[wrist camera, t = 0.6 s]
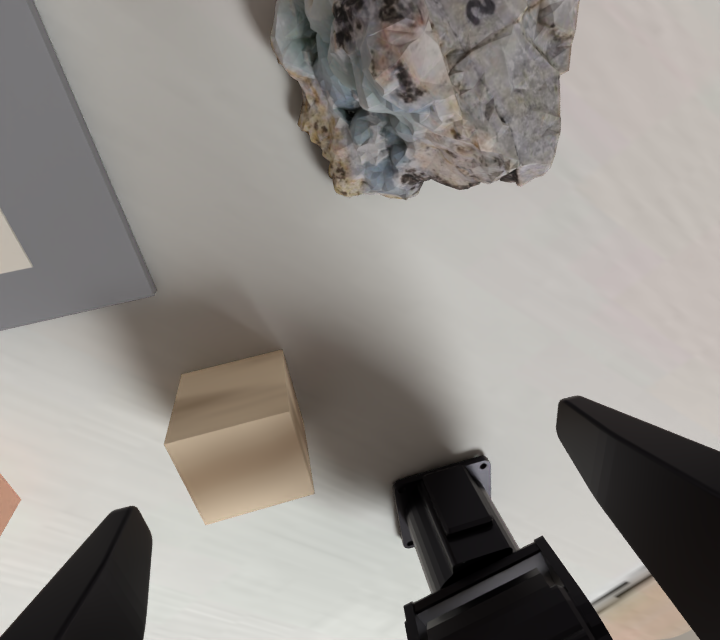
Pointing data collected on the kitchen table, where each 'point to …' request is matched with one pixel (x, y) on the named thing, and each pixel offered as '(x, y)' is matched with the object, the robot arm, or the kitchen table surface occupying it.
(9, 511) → the terracotta cube
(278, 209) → the kitchen table surface
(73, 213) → the slate board
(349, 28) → the mineral specimen
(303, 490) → the beech cube
